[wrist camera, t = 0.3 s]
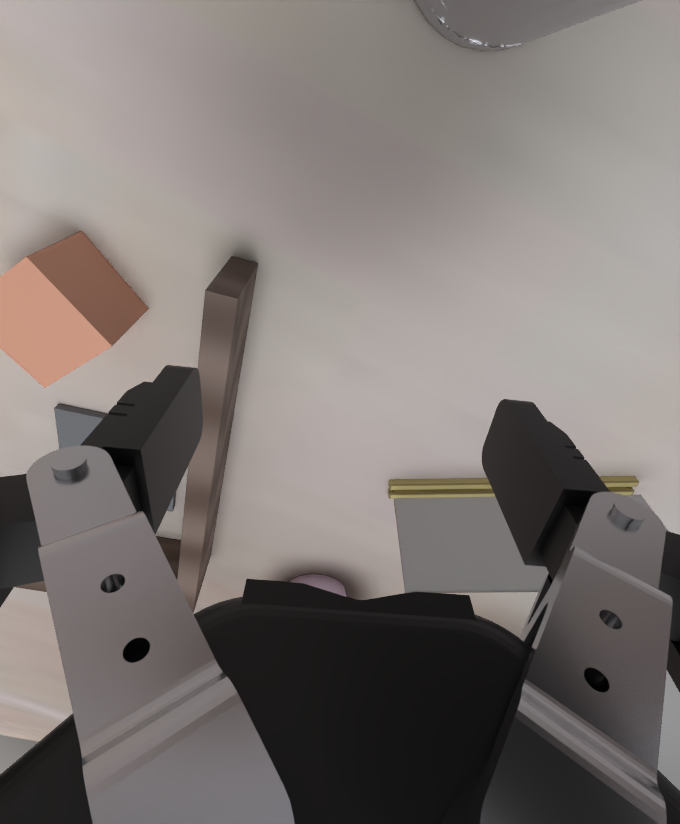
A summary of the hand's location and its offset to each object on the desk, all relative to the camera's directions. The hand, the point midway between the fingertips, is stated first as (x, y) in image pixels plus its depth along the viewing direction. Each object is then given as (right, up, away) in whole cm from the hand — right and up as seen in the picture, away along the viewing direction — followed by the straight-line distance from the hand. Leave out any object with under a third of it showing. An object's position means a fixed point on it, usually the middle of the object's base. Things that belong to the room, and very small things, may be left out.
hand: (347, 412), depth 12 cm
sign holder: (+14, -6, +25) cm, 30 cm away
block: (-16, +8, +16) cm, 24 cm away
